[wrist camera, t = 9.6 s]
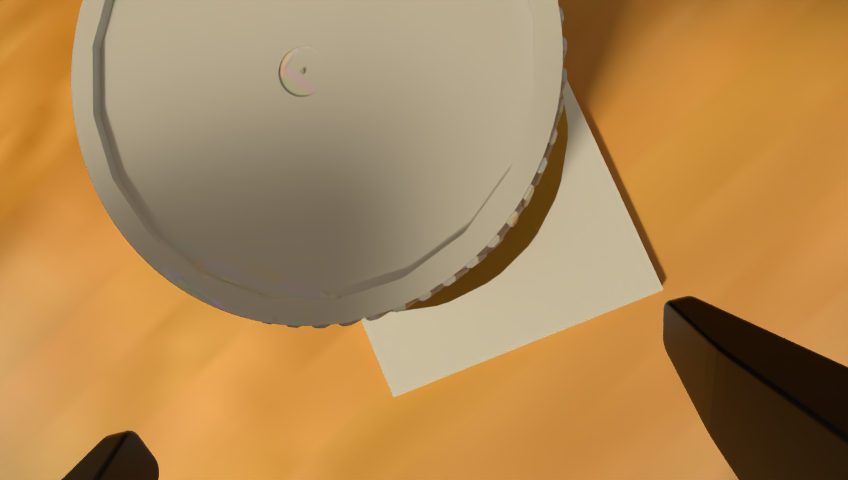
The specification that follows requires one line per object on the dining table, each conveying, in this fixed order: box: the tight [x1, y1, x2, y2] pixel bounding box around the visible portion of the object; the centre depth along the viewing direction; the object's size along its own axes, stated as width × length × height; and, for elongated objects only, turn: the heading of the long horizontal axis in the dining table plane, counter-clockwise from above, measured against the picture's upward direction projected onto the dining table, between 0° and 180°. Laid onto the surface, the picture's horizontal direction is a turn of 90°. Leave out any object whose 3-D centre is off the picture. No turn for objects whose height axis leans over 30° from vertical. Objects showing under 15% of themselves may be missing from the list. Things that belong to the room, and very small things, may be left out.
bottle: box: [71, 0, 568, 328], centre depth 14 cm, size 7×7×15 cm
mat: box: [361, 80, 664, 397], centre depth 21 cm, size 11×11×1 cm
